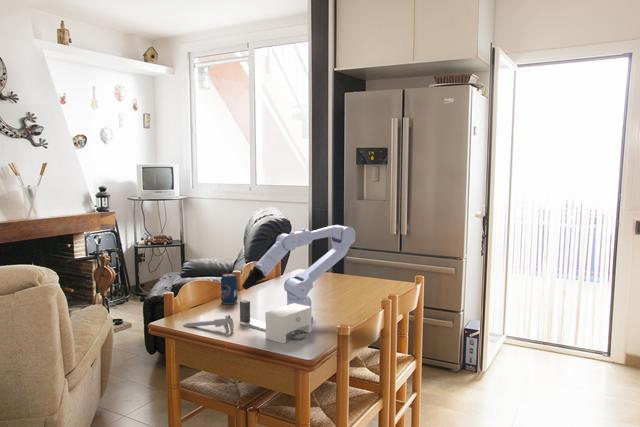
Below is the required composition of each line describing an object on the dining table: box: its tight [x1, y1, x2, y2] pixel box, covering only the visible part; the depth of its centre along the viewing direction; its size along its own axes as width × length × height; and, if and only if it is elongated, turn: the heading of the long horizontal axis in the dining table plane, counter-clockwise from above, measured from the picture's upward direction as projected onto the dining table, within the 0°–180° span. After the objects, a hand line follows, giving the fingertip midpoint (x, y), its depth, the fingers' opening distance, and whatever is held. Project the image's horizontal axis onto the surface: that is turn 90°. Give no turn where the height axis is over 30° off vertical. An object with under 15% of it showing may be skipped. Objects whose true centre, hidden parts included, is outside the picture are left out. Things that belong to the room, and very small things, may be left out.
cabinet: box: [265, 303, 312, 344], centre depth 172 cm, size 15×9×9 cm, turn 142°
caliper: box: [182, 314, 235, 333], centre depth 178 cm, size 20×1×6 cm, turn 71°
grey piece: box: [239, 299, 266, 332], centre depth 181 cm, size 5×16×8 cm, turn 52°
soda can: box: [220, 272, 238, 305], centre depth 212 cm, size 7×7×12 cm
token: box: [289, 330, 306, 341], centre depth 170 cm, size 5×5×2 cm
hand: (245, 287), depth 177 cm, fingers open, 7 cm apart
